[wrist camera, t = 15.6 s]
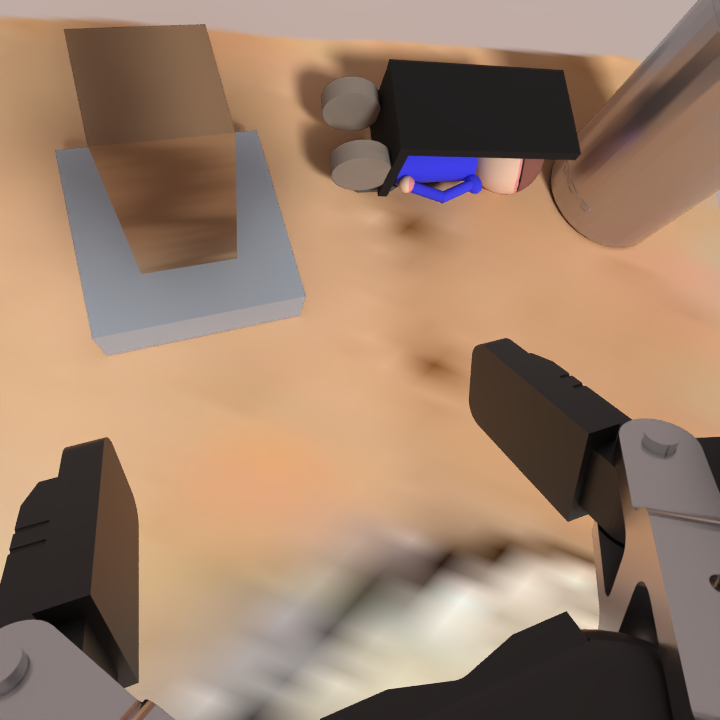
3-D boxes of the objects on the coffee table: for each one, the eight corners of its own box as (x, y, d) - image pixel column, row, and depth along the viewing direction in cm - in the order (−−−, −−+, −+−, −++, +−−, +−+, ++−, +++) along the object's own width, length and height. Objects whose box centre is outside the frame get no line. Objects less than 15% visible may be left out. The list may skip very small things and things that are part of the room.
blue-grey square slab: (255, 161, 33) (256, 130, 31) (299, 315, 31) (305, 296, 28) (72, 183, 30) (55, 150, 28) (107, 356, 28) (92, 338, 25)
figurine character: (327, 228, 35) (535, 217, 37) (334, 155, 28) (592, 147, 30) (317, 144, 37) (516, 137, 39) (321, 54, 29) (566, 52, 31)
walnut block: (216, 180, 29) (205, 24, 20) (237, 258, 28) (235, 132, 19) (123, 191, 28) (63, 29, 18) (141, 274, 27) (87, 146, 17)
